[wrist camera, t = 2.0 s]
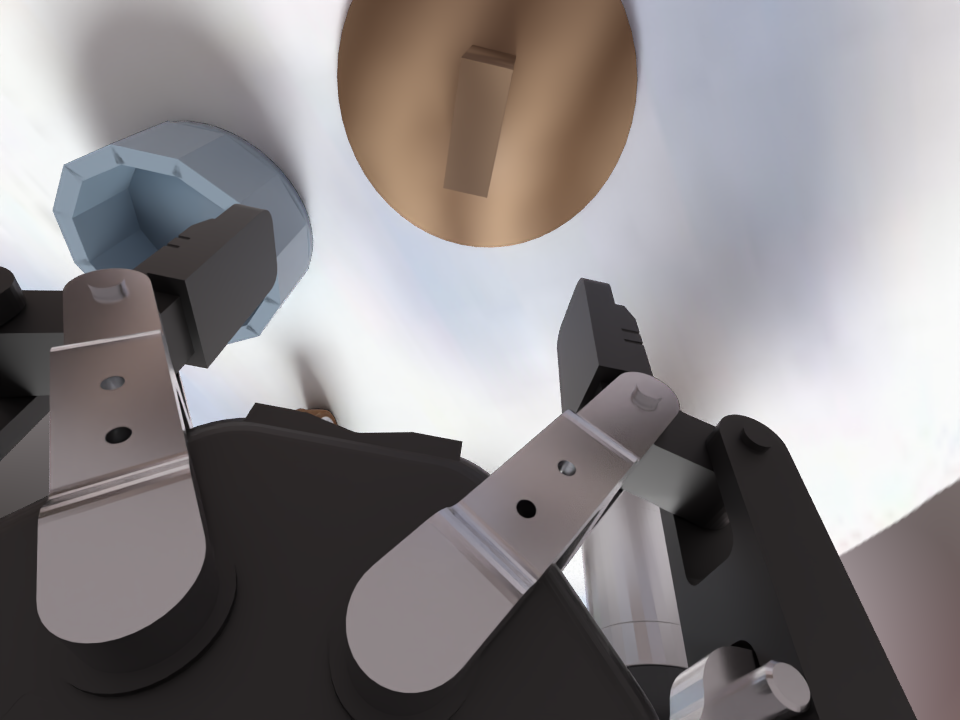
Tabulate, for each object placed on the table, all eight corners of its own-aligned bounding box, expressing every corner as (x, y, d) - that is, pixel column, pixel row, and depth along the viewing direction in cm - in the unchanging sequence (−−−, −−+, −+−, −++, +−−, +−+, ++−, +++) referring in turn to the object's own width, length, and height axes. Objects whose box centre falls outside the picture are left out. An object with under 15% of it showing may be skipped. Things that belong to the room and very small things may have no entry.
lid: (690, -45, 23) (730, -50, 18) (577, 263, 33) (584, 309, 29) (342, -134, 22) (290, -163, 17) (343, 212, 33) (311, 251, 28)
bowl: (309, 147, 29) (268, 179, 25) (315, 312, 38) (286, 359, 33) (98, 99, 29) (16, 122, 24) (152, 279, 37) (99, 322, 32)
